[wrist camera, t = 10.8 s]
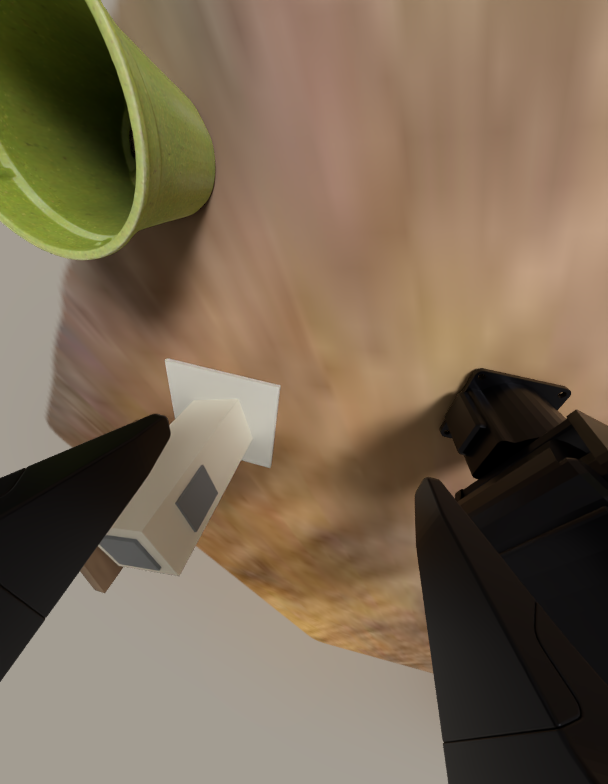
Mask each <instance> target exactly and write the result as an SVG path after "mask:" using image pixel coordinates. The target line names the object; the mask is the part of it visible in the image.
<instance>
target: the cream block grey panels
mask: <svg viewBox="0 0 608 784" xmlns="http://www.w3.org/2000/svg"><path fill="white" fill-rule="evenodd" d="M169 427H170V431H171V436H170V439H169V441H168V442H167V444H166V446H165V448H164V449H163V451H162V453H161V455H160V456H159V458H158V460H157V462H156V463H155V465H154V467H153V469H152V470H151V472H150V473H149V475H148V477H147V478H146V480H145V481H144V483H143V484H142V485H141V487H140V488H139V489H138V491H137V492H136V494H135V495H134V496H133V498H132V499H131V501H130V502H129V503H128V505H127V506H126V508H125V509H124V510H123V512H122V513H121V515H120V516H119V517H118V519H117V520H116V521H115V523H114V524H113V526H112V527H111V528H110V530H109V531H108V533H107V534H106V535H105V537H104V538H103V540H102V541H101V542H100V544H99V545H98V547H99V548H100V549H101V550H102V551H104V552H105V553H106V554H107V555H108V556H109V557H110V558H111V559H112V560H113V561H114V562H115V563H116V564H117V565H118V566H122V567H128V568H134V569H139V570H145V571H151V572H157V573H163V574H168V575H174V576H180V574H181V572H182V570H183V569H184V567H185V565H186V563H187V561H188V559H189V557H190V555H191V553H192V551H193V550H194V548H195V546H196V544H197V542H198V540H199V538H200V537H201V535H202V533H203V531H204V529H205V527H206V525H207V523H208V521H209V520H210V518H211V516H212V514H213V512H214V510H215V508H216V506H217V505H218V503H219V501H220V499H221V497H222V495H223V493H224V491H225V490H226V488H227V486H228V484H229V482H230V480H231V478H232V476H233V474H234V473H235V471H236V469H237V467H238V465H239V463H240V461H241V459H242V458H243V456H244V454H245V452H246V450H247V448H248V446H249V444H250V442H251V441H252V439H253V438H252V435H251V433H250V430H249V427H248V424H247V421H246V419H245V416H244V413H243V410H242V408H241V405H240V402H239V399H220V400H193V401H192V402H191V403H190V404H189V406H188V407H187V408H186V409H185V410H184V411H183V412H182V413H181V414H180V415H179V416H178V417H177V418H176V419H175V420H174V421H173V422H172V423H171V424H170V425H169Z"/></svg>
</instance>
